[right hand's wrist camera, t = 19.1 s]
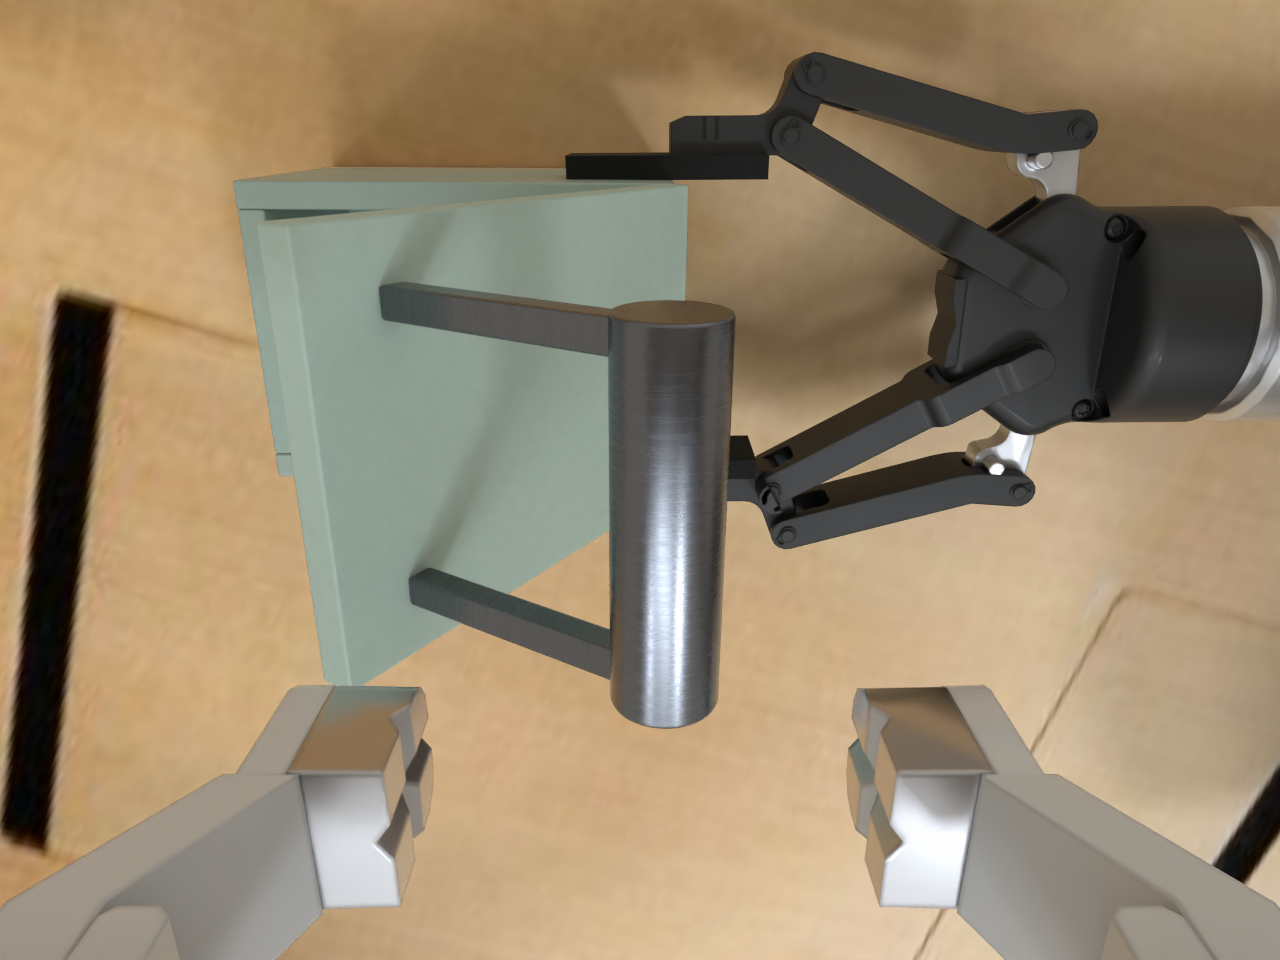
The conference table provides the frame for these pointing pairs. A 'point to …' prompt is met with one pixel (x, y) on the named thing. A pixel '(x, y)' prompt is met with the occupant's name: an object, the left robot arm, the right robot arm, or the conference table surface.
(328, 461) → the lid
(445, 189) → the chest
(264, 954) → the right robot arm
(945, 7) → the conference table surface
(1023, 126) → the left robot arm
